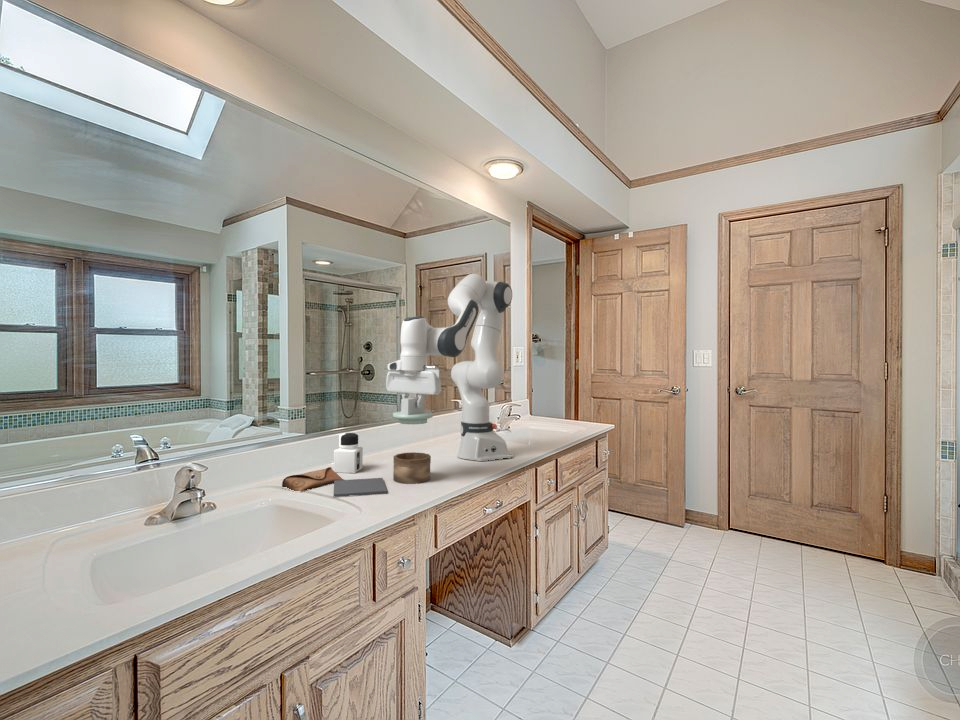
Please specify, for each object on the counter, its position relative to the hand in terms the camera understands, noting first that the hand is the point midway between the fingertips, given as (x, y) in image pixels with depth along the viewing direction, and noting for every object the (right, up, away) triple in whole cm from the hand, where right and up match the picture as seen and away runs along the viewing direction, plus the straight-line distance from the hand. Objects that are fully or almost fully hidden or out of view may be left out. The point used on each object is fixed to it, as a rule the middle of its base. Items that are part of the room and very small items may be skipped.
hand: (413, 407), depth 152 cm
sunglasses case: (-29, -24, -8) cm, 39 cm away
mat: (-15, -24, -12) cm, 30 cm away
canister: (0, -24, 0) cm, 24 cm away
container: (-24, -24, +10) cm, 35 cm away
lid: (0, -5, 0) cm, 5 cm away
